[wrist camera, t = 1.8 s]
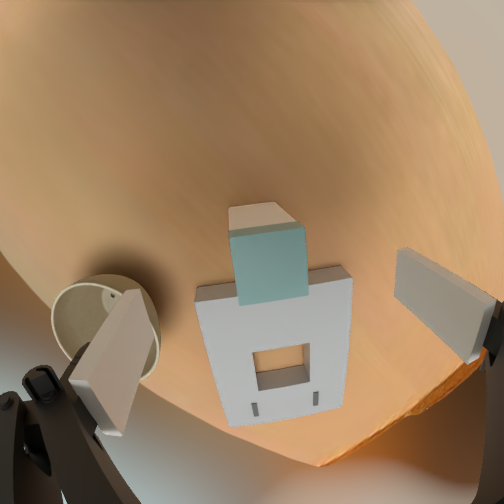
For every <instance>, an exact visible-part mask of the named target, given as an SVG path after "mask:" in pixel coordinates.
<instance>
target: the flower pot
mask: <svg viewBox="0 0 504 504" xmlns="http://www.w3.org/2000/svg"><path fill="white" fill-rule="evenodd" d="M139 288H140V291H141V294H142V297H143V301H144V304H145V307H146V311H147V314H148V317H149V320H150V323H151V326H152V329H153V332H154V335H155V336H154V339H153V342H152V345H151V348H150V351H149V353H148V356H147V359H146V362H145V365H144V368H143V371H142V374H141V377H140V380H139V381H142V380H143V379H145V378H147V377H148V376H149V375H150V374H151V373H152V372H153V371H154V369H155V368H156V366H157V363H158V360H159V355H160V344H161V336H160V326H159V320H158V316H157V312H156V309H155V307H154V304H153V302H152V300H151V298H150V296H149V295H148V293H147V292H146V291H145V289H144V288H143V287H142V286H141V285H140V284H138V283H137V282H136V281H134V280H132V279H130V278H128V277H125V276H121V275H115V274H101V275H95V276H91V277H87V278H84V279H82V280H79V281H77V282H75V283H73V284H71V285H70V286H68V287H67V288H65V289H64V290H62V291H61V292H60V293H59V295H58V296H57V297H56V299H55V301H54V303H53V307H52V312H51V321H52V328H53V332H54V335H55V337H56V340H57V342H58V344H59V346H60V347H61V349H62V350H63V352H64V353H65V355H66V356H67V357H68V358H69V359H70V360H71V361H72V359H73V358H74V356H75V355H76V353H77V352H78V350H79V349H80V348H81V347H82V346H83V345H85V344H86V343H87V342H91V341H92V340H93V338H94V337H95V335H96V334H97V332H98V330H99V329H100V327H101V326H102V324H103V323H104V321H105V320H106V318H107V317H108V315H109V314H110V312H111V311H112V309H113V308H114V307H115V305H116V304H117V302H118V301H119V299H120V298H121V296H122V295H123V294H124V292H125V291H126V290H131V289H139ZM112 296H114V297H112Z"/></svg>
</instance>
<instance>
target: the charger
mask: <svg viewBox="0 0 504 504" xmlns="http://www.w3.org/2000/svg"><path fill="white" fill-rule="evenodd" d="M228 211H229V231H228V232H229V243H230V250H231V256H232V263H233V269H234V276H235V282H236V288H237V294H238V301H239V306H245V305H252V304H259V303H265V302H272V301H278V300H284V299H290V298H296V297H302V296H308V295H309V287H308V266H307V248H306V233H305V227H304V226H303V225H302V224H301V223H300V222H298V221H296V220H294V219H293V218H292V217H291V216H290V215H289V214H288V213H287V212H286V211H284V210H283V209H282V208H281V207H280V206H279V205H278V204H277V203H275V202H274V201H273V202H265V203H257V204H250V205H242V206H235V207H228Z"/></svg>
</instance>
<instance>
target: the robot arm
mask: <svg viewBox="0 0 504 504" xmlns="http://www.w3.org/2000/svg"><path fill="white" fill-rule="evenodd" d="M394 297H395V298H396V299H398V300H399V301H400V302H401V303H402V304H403V305H404V306H405V307H407V308H408V309H409V310H410V311H411V312H412V313H413V314H414V315H415V316H417V317H418V318H419V319H420V320H421V321H422V322H423V323H424V324H425V325H426V326H427V327H429V328H430V329H431V330H432V331H433V332H434V333H435V334H436V335H437V336H438V337H439V338H440V339H441V340H442V341H443V342H444V343H446V344H447V345H448V346H449V347H450V348H451V349H452V350H453V351H454V352H455V353H456V354H457V355H458V356H459V357H460V358H461V359H462V360H463V361H464V362H465V363H466V364H469V363H471V362H473V361H474V360H476V359H478V358H479V355H480V353H481V350H482V347H483V346H484V347H485V348H486V349H487V352H486V355H485V357H484V360H483V362H482V365H481V368H480V371H479V372H481V371H482V369H483V368H484V367H485V366H486V369H485V372H486V385H487V415H486V434H485V447H484V455H483V463H482V469H481V476H480V481H479V487H478V491H477V494H476V497H475V499H474V500H473V502H472V503H471V504H504V301H503V303H501V302H500V301H498V300H497V299H495V298H494V297H492V296H490V295H489V294H487V293H486V292H484V291H482V290H481V289H479V288H477V287H476V286H475V285H473V284H471V283H470V282H468V281H466V280H464V279H463V278H461V277H459V276H458V275H456V274H454V273H453V272H451V271H449V270H448V269H446V268H444V267H442V266H441V265H439V264H437V263H435V262H434V261H432V260H430V259H428V258H427V257H425V256H423V255H421V254H419V253H418V252H416V251H414V250H412V249H410V248H403V249H397V264H396V278H395V290H394ZM154 336H155V335H154V332H153V329H152V326H151V323H150V320H149V317H148V314H147V311H146V307H145V304H144V301H143V297H142V294H141V291H140V288H139V289H131V290H126V291H125V292H124V294H123V295H122V296H121V298H120V299H119V301H118V302H117V304H116V305H115V307H114V308H113V309H112V311H111V312H110V314H109V315H108V317H107V318H106V320H105V321H104V323H103V324H102V326H101V327H100V329H99V330H98V332H97V334H96V335H95V337H94V338H93V340H92V341H91V342H87V343H86V344H85V345H83V346H82V347H81V348H80V349H79V350H78V352H77V353H76V355H75V356H74V358H73V359H72V361H71V362H70V365H69V366H68V367H67V369H66V370H65V372H64V374H63V375H62V377H61V378H60V380H59V379H58V377H57V376H56V374H55V372H54V370H53V369H52V367H51V366H48V365H40V366H37V367H35V368H33V369H31V370H30V371H28V373H27V374H25V376H24V378H23V379H22V385H23V386H24V388H25V389H26V391H27V393H28V394H29V395H30V397H31V398H32V400H30V401H22V400H21V398H20V397H19V395H18V394H17V393H16V392H14V391H8V392H6V393H3V394H2V395H0V504H63V499H62V493H61V490H62V492H63V494H64V497H65V499H66V502H67V504H141V502H140V501H139V500H138V498H137V497H136V496H135V494H134V493H133V492H132V490H131V489H130V487H129V486H128V485H127V483H126V482H125V480H124V479H123V477H122V476H121V474H120V473H119V471H118V470H117V468H116V467H115V465H114V464H113V462H112V460H111V459H110V457H109V455H108V454H107V452H106V450H105V449H104V447H103V445H102V443H101V442H100V440H99V438H98V436H97V435H96V434H95V433H94V432H95V429H96V427H97V425H98V426H99V428H100V429H101V430H102V432H103V433H104V434H105V435H114V436H123V433H124V429H125V426H126V422H127V419H128V416H129V412H130V409H131V406H132V403H133V399H134V396H135V393H136V390H137V387H138V383H139V380H140V377H141V374H142V371H143V368H144V365H145V362H146V359H147V356H148V353H149V351H150V348H151V345H152V342H153V339H154ZM24 447H25V450H24Z"/></svg>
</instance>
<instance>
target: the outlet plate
mask: <svg viewBox="0 0 504 504" xmlns="http://www.w3.org/2000/svg"><path fill="white" fill-rule="evenodd" d="M308 287H309V295H308V296H302V297H296V298H290V299H284V300H278V301H272V302H265V303H259V304H252V305H245V306H239V301H238V294H237V288H236V282H232V283H225V284H218V285H210V286H203V287H197V291H196V296H195V301H194V303H195V308H196V312H197V316H198V320H199V324H200V328H201V332H202V336H203V339H204V343H205V347H206V351H207V354H208V358H209V362H210V365H211V369H212V372H213V376H214V379H215V383H216V386H217V390H218V393H219V396H220V399H221V403H222V406H223V409H224V412H225V415H226V419H227V422H228V425H229V427H239V426H247V425H255V424H262V423H269V422H275V421H281V420H286V419H292V418H297V417H302V416H307V415H311V414H316V413H320V412H324V411H328V410H332V409H336V408H340V407H342V403H343V396H344V388H345V380H346V371H347V362H348V352H349V340H350V327H351V310H352V287H353V277H352V276H351V275H350V274H349V273H348V272H347V271H346V270H345V269H344V268H343V267H342V266H335V267H329V268H323V269H317V270H311V271H308ZM300 344H303V357H304V365H300V366H295V367H289V368H284V369H278V370H272V371H266V372H260V373H256V372H255V366H254V360H253V353H252V352H259V351H265V350H271V349H277V348H283V347H289V346H294V345H300Z"/></svg>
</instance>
